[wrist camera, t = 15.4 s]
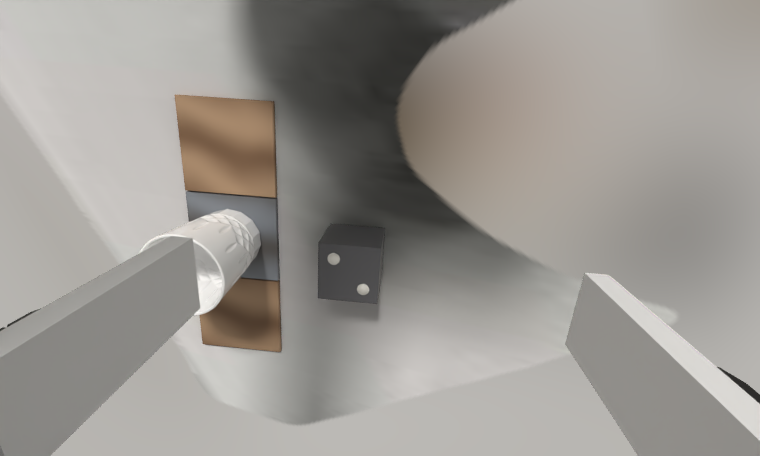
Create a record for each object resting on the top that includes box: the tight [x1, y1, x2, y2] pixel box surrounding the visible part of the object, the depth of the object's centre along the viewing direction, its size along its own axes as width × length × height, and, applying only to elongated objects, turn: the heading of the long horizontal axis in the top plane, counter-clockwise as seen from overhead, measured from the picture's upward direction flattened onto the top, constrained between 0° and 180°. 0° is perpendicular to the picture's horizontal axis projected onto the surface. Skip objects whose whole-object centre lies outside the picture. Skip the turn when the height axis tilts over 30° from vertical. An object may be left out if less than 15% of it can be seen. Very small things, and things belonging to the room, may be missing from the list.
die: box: [318, 224, 385, 304], centre depth 38 cm, size 6×6×6 cm
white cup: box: [139, 209, 261, 316], centre depth 36 cm, size 8×8×10 cm
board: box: [175, 95, 281, 352], centre depth 41 cm, size 30×10×1 cm, turn 176°
